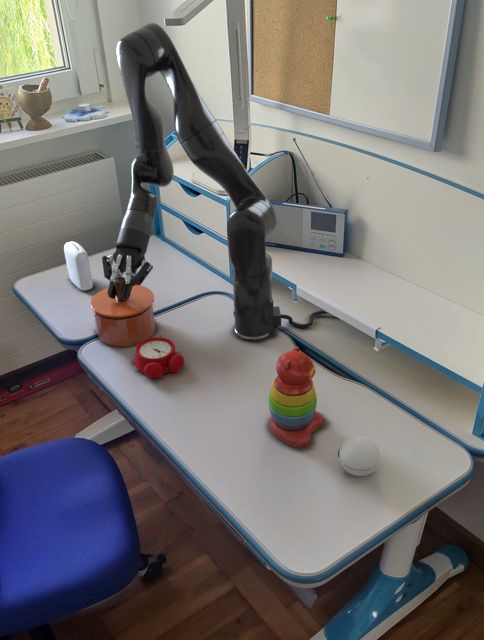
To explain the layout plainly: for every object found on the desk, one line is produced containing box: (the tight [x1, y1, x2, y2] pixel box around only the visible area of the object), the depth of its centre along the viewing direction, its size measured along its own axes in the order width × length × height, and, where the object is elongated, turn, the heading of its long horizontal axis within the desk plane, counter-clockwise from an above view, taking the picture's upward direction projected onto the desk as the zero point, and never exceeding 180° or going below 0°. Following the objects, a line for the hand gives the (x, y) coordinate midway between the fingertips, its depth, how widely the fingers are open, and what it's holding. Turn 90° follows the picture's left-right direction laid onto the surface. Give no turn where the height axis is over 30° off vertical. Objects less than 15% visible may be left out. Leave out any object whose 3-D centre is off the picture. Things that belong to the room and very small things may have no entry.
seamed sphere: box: [337, 435, 381, 477], centre depth 119 cm, size 10×7×7 cm
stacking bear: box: [268, 346, 326, 449], centre depth 128 cm, size 11×10×18 cm
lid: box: [90, 276, 155, 318], centre depth 161 cm, size 16×16×7 cm
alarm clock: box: [131, 334, 185, 380], centre depth 152 cm, size 10×6×15 cm
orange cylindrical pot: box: [92, 303, 156, 347], centre depth 165 cm, size 15×15×8 cm
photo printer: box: [63, 240, 94, 291], centre depth 186 cm, size 10×4×12 cm, turn 32°
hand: (117, 298), depth 160 cm, fingers closed on lid, 3 cm apart
